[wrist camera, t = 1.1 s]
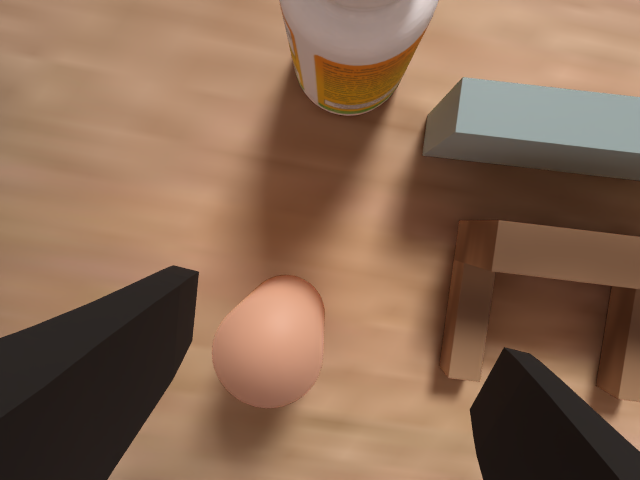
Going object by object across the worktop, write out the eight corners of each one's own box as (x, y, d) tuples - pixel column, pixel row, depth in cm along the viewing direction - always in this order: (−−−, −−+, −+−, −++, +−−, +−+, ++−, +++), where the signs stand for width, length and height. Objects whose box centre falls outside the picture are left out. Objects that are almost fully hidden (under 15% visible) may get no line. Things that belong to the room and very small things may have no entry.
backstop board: (704, 188, 19) (839, 176, 14) (422, 155, 19) (455, 131, 14) (711, 147, 19) (849, 121, 14) (427, 115, 19) (462, 77, 14)
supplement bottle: (425, 61, 19) (527, -107, 9) (349, 140, 19) (371, 57, 10) (348, -16, 19) (369, -268, 9) (272, 64, 19) (214, -97, 9)
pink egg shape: (293, 367, 20) (279, 430, 14) (231, 321, 20) (189, 364, 14) (340, 306, 20) (345, 343, 14) (277, 259, 20) (255, 275, 14)
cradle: (625, 389, 20) (714, 439, 15) (439, 366, 20) (472, 408, 15) (649, 243, 19) (747, 249, 15) (459, 220, 19) (498, 220, 15)
